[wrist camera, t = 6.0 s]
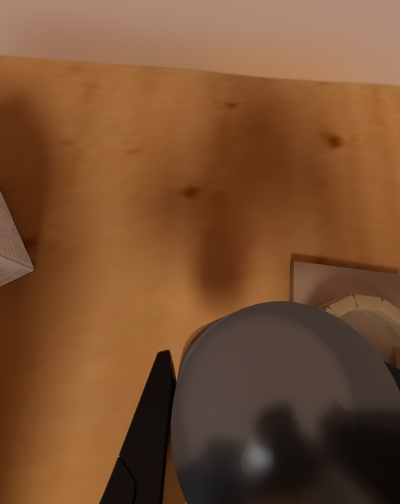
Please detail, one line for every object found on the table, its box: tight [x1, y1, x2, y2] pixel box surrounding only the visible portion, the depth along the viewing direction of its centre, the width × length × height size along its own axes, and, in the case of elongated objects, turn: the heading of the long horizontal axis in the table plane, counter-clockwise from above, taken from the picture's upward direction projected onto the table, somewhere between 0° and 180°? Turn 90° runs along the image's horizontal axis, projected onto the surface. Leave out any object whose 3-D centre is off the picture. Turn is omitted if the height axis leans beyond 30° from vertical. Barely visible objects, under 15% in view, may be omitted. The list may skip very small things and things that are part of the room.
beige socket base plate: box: [290, 261, 400, 369], centre depth 20 cm, size 14×10×3 cm
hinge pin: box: [171, 301, 400, 504], centre depth 10 cm, size 5×5×11 cm
